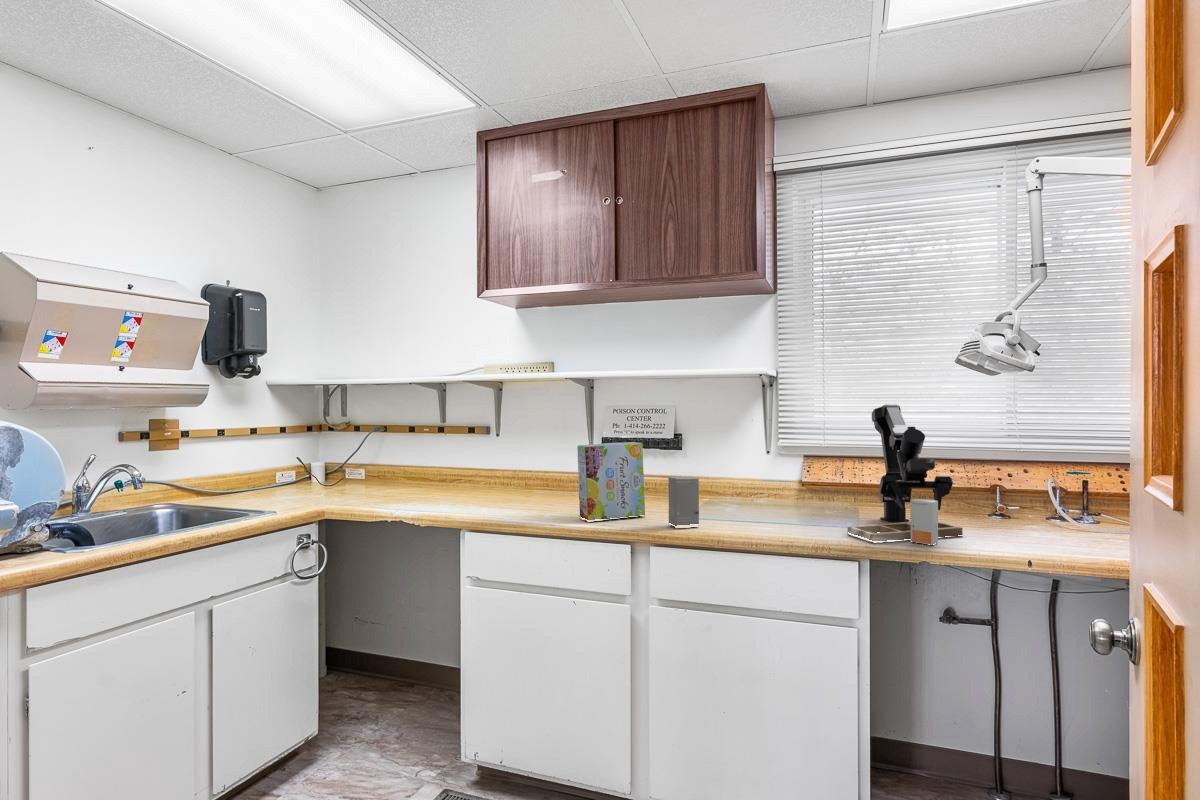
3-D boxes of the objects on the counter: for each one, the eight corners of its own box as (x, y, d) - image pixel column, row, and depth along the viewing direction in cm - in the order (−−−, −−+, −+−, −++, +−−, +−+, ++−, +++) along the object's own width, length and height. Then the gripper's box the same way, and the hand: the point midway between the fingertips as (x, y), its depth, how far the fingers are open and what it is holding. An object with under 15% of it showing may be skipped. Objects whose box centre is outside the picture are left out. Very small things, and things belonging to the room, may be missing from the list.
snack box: (635, 513, 236) (633, 441, 235) (646, 517, 228) (644, 442, 227) (577, 519, 227) (576, 444, 227) (587, 523, 219) (585, 445, 219)
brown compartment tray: (847, 535, 196) (847, 526, 195) (931, 528, 203) (931, 520, 203) (874, 543, 184) (873, 534, 184) (962, 536, 191) (962, 527, 191)
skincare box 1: (675, 529, 207) (675, 479, 207) (667, 525, 214) (666, 476, 214) (700, 527, 209) (700, 477, 209) (691, 523, 216) (691, 475, 216)
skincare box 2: (910, 543, 184) (909, 500, 184) (915, 540, 187) (915, 498, 187) (933, 546, 180) (932, 502, 180) (938, 543, 183) (938, 500, 183)
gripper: (880, 447, 192) (890, 491, 181) (950, 447, 189) (964, 492, 178) (875, 472, 200) (884, 515, 189) (941, 472, 197) (955, 516, 186)
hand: (921, 509), depth 185 cm, fingers open, 9 cm apart
